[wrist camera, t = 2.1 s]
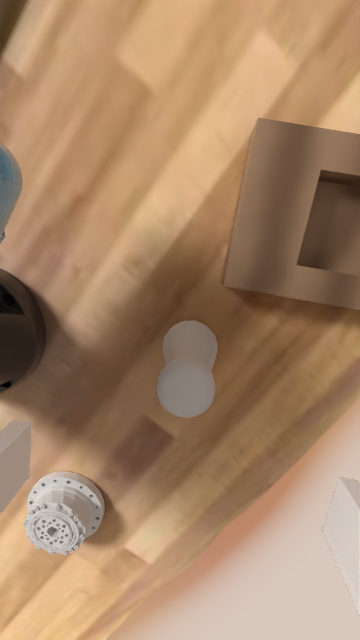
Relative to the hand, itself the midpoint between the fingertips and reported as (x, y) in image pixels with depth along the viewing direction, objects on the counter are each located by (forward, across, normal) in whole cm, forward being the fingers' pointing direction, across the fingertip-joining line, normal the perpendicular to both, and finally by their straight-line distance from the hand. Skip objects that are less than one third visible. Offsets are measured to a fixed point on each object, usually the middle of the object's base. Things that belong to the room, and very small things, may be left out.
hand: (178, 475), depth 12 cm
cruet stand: (+21, +12, +14) cm, 27 cm away
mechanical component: (+21, -12, -25) cm, 35 cm away
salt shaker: (+21, 0, 0) cm, 21 cm away
